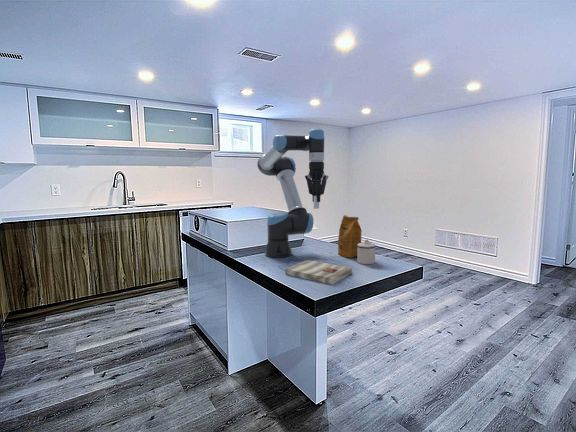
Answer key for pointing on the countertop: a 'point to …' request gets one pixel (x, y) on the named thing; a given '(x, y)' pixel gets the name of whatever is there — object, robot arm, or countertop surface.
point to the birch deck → (318, 271)
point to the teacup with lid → (366, 252)
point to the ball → (328, 270)
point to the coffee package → (349, 237)
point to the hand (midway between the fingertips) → (316, 208)
